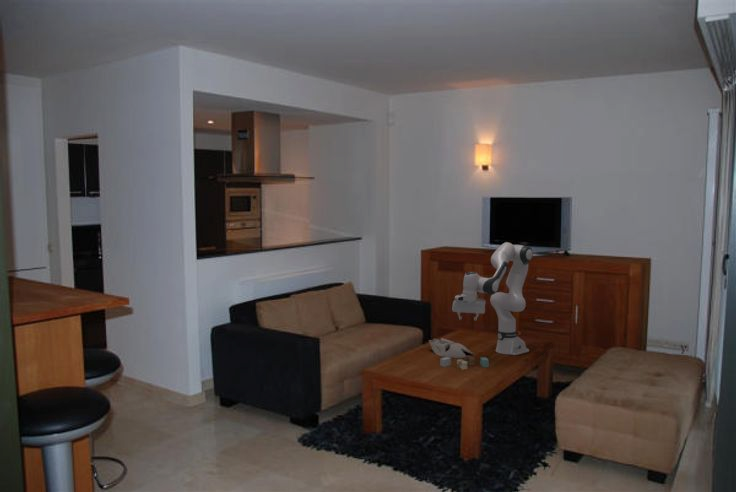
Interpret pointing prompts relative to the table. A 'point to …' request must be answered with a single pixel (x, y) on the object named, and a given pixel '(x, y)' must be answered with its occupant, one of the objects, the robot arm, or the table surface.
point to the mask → (454, 348)
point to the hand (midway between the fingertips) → (467, 319)
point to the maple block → (462, 364)
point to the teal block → (484, 362)
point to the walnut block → (469, 360)
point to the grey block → (445, 361)
